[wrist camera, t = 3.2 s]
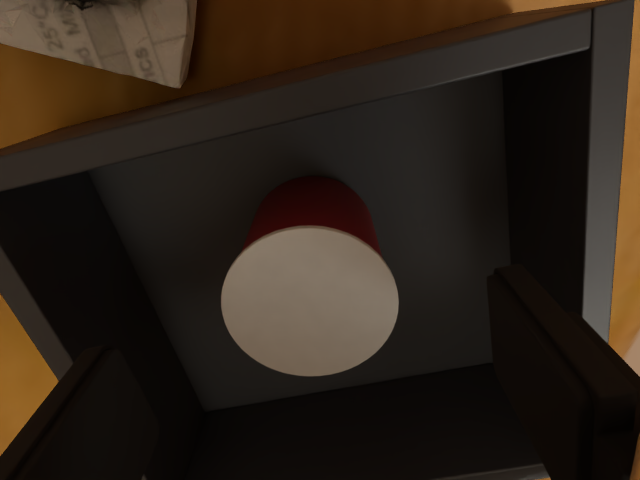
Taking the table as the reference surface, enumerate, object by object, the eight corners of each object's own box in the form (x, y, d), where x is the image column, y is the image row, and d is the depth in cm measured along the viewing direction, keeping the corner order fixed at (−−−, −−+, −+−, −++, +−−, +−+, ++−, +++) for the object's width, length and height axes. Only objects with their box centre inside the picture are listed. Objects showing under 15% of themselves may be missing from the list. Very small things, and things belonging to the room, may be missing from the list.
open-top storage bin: (58, 128, 15) (-79, 175, 10) (514, 12, 14) (636, -4, 8) (199, 412, 21) (159, 534, 16) (525, 356, 20) (598, 471, 14)
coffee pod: (232, 187, 15) (194, 250, 11) (364, 157, 15) (383, 209, 10) (269, 297, 17) (251, 388, 13) (386, 274, 17) (410, 360, 12)
